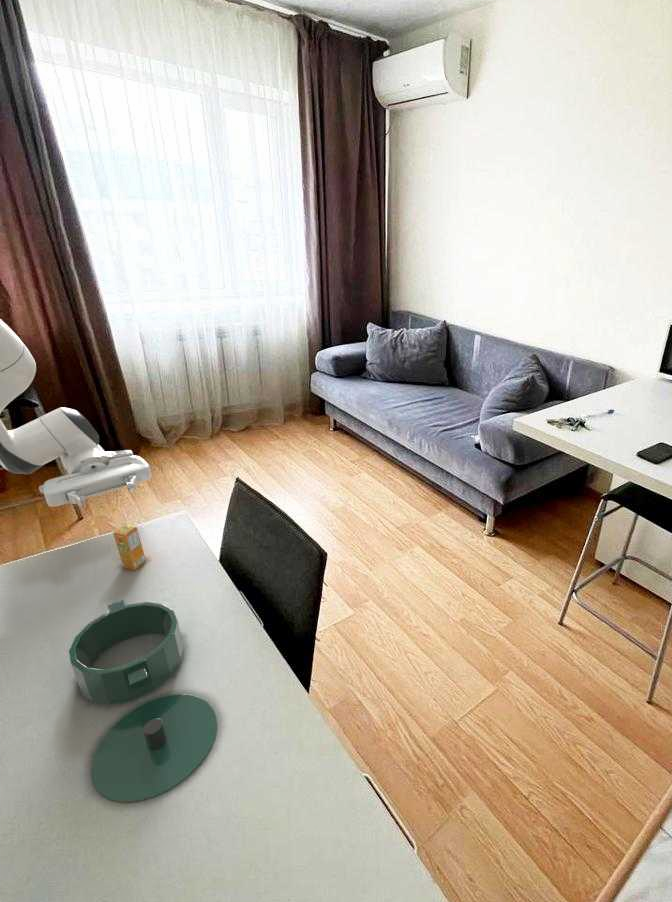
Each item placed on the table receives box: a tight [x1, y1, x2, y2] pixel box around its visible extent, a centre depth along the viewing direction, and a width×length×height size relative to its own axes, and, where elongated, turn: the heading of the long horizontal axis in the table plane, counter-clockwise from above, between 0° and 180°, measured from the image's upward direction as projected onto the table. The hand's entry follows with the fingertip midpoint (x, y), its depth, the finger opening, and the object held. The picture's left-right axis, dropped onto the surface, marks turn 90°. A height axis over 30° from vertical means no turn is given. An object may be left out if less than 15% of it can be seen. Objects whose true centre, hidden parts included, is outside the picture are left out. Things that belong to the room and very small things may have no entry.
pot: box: [68, 599, 185, 705], centre depth 81 cm, size 15×20×8 cm
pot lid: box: [90, 693, 218, 803], centre depth 70 cm, size 16×16×5 cm
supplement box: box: [112, 523, 147, 571], centre depth 102 cm, size 3×3×10 cm
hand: (108, 495), depth 107 cm, fingers open, 8 cm apart
